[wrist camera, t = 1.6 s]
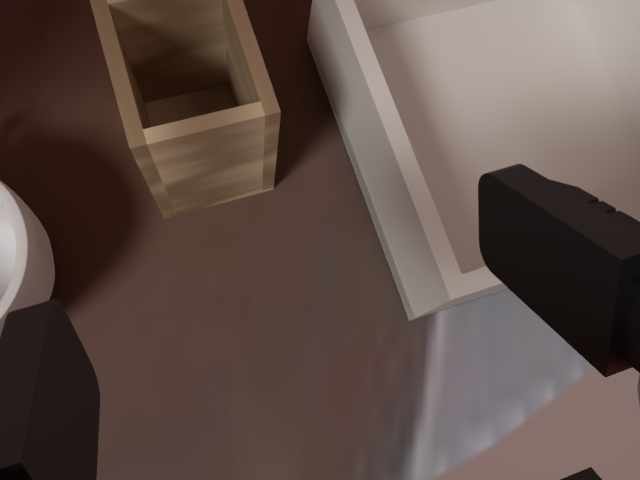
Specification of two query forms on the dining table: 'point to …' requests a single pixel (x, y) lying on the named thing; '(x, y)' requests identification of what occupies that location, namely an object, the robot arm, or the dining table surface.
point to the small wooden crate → (191, 98)
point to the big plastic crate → (476, 118)
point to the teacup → (22, 256)
